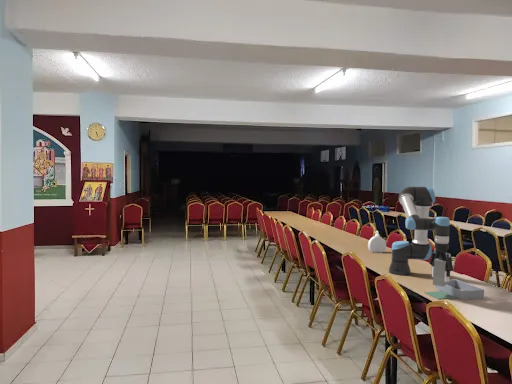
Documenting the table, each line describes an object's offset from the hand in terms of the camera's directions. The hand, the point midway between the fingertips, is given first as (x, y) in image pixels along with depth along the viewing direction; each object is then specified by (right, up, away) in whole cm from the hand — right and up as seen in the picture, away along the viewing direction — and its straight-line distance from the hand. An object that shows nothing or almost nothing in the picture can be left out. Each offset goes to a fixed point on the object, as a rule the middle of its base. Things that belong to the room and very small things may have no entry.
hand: (440, 279), depth 220 cm
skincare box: (0, -3, 0) cm, 3 cm away
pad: (0, -10, +1) cm, 10 cm away
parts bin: (+14, -10, +6) cm, 18 cm away
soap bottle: (+3, -4, +125) cm, 125 cm away
